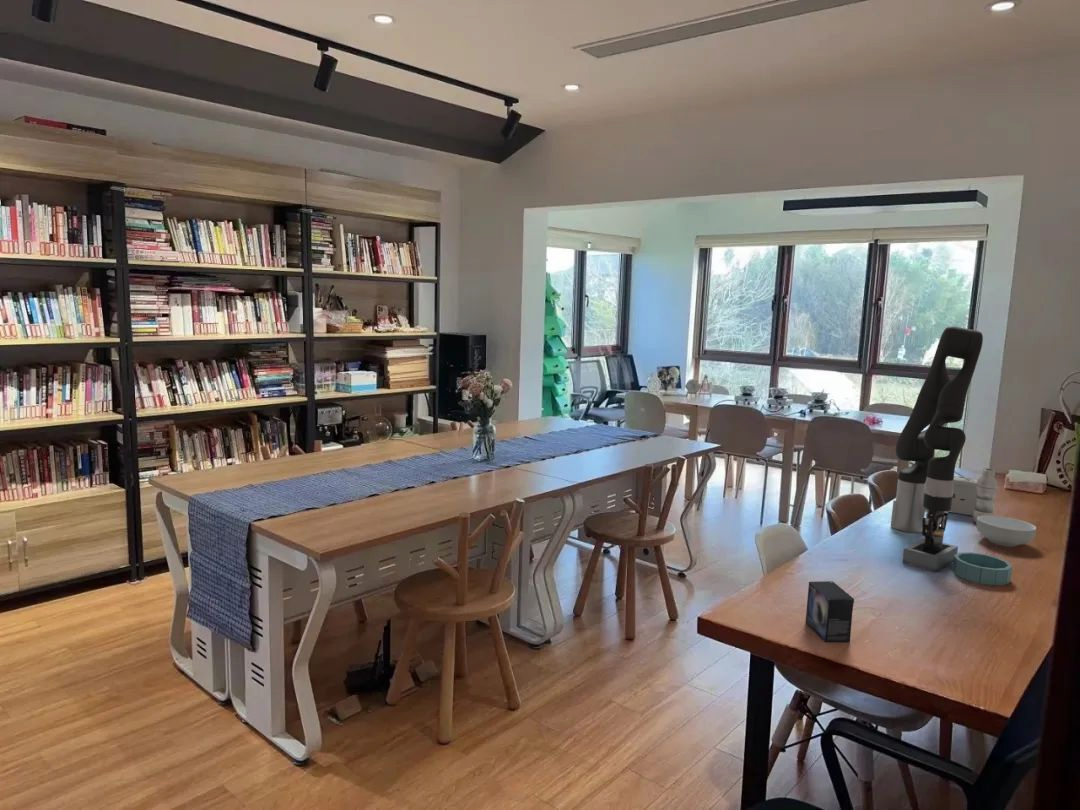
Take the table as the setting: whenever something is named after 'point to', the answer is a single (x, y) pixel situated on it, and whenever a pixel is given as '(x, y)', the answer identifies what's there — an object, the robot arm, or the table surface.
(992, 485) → the plastic bottle
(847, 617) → the small box
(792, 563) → the table surface
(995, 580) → the cup
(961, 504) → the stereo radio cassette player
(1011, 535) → the cereal bowl
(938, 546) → the cell
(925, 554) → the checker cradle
